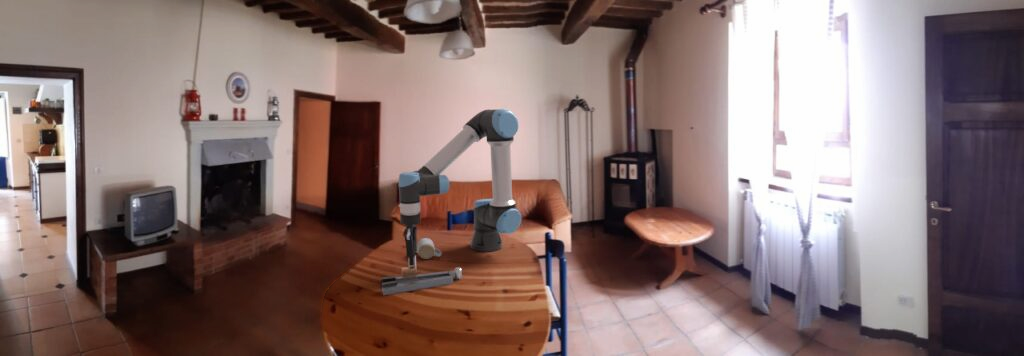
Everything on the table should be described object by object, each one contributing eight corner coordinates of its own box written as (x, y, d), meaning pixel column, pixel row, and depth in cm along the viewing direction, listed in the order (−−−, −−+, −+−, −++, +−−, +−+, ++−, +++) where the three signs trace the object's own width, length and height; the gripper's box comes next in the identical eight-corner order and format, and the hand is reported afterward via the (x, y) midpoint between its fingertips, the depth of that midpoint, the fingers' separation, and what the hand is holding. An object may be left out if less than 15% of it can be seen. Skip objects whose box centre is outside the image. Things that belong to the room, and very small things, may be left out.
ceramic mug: (418, 261, 174) (418, 243, 172) (416, 254, 181) (416, 238, 180) (443, 258, 177) (443, 241, 176) (440, 252, 185) (440, 236, 184)
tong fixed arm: (450, 280, 153) (450, 272, 153) (453, 283, 150) (453, 275, 150) (382, 291, 143) (381, 283, 143) (383, 295, 140) (383, 286, 139)
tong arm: (459, 273, 159) (459, 261, 158) (462, 278, 154) (462, 266, 153) (381, 282, 150) (380, 269, 149) (381, 288, 144) (381, 275, 144)
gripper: (403, 209, 160) (406, 266, 163) (396, 217, 147) (399, 279, 150) (422, 208, 160) (424, 265, 164) (417, 217, 147) (419, 278, 151)
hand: (412, 272), depth 157 cm, fingers closed
